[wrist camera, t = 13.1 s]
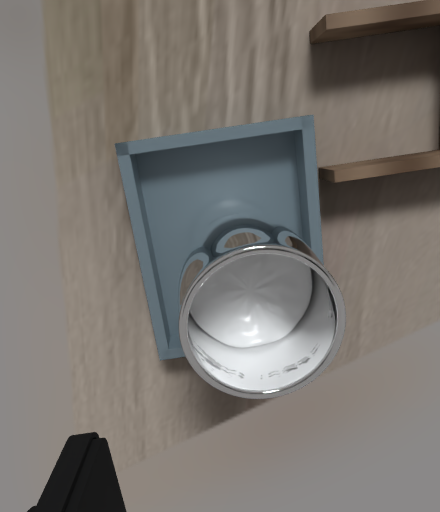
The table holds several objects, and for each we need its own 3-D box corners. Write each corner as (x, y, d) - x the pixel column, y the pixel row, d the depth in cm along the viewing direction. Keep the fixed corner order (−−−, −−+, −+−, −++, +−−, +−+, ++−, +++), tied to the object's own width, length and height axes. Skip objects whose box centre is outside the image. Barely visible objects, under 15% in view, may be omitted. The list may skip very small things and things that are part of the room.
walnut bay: (453, 10, 27) (490, -9, 23) (449, 159, 29) (481, 160, 26) (309, 31, 26) (325, 14, 23) (319, 178, 29) (335, 182, 26)
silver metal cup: (187, 283, 30) (178, 409, 16) (182, 193, 28) (166, 243, 14) (276, 279, 30) (346, 399, 16) (277, 190, 29) (358, 235, 14)
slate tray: (301, 117, 28) (313, 114, 25) (316, 317, 32) (328, 334, 30) (123, 143, 28) (114, 143, 25) (163, 341, 32) (159, 360, 29)
